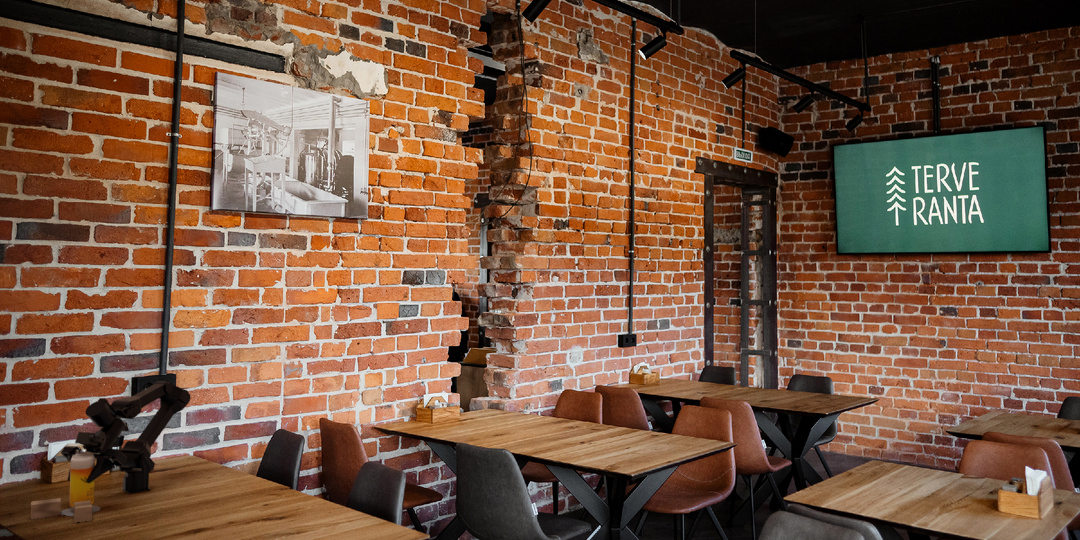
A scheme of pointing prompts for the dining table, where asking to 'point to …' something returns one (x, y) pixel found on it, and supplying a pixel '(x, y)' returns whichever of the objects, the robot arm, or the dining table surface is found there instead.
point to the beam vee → (53, 508)
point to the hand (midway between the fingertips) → (78, 481)
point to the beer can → (81, 478)
